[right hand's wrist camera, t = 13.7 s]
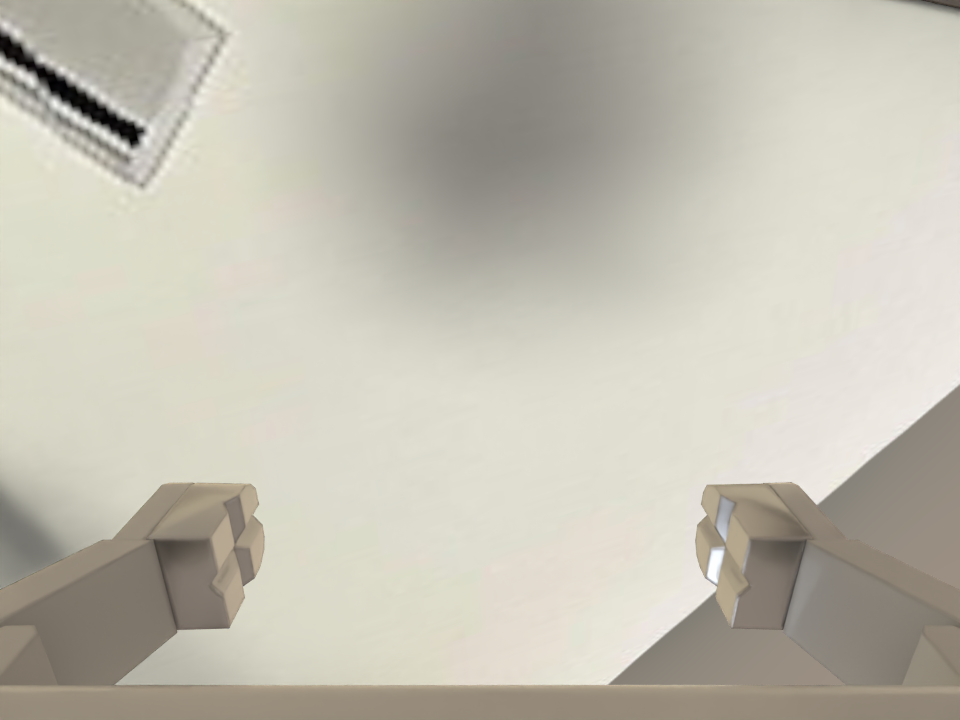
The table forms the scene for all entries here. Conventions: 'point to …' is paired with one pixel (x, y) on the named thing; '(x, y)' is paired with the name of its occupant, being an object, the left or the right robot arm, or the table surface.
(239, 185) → the table surface
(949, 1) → the toy
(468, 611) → the table surface
